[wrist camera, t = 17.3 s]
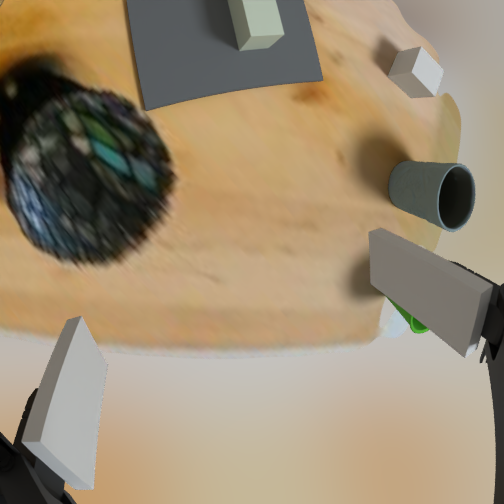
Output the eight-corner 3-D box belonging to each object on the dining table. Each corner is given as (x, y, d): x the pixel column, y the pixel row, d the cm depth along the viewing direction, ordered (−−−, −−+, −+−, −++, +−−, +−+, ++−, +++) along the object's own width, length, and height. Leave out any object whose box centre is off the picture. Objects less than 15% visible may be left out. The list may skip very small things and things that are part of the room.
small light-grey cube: (410, 98, 42) (435, 97, 36) (386, 76, 40) (411, 72, 34) (420, 73, 41) (444, 70, 35) (397, 52, 38) (421, 46, 33)
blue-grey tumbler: (375, 194, 46) (427, 211, 35) (401, 143, 44) (455, 149, 33) (410, 222, 50) (458, 243, 39) (432, 175, 48) (482, 188, 37)
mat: (146, 111, 34) (145, 110, 33) (125, -14, 26) (124, -16, 25) (320, 81, 38) (323, 80, 37) (290, -31, 30) (292, -34, 29)
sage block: (251, 36, 28) (231, -41, 23) (239, 51, 33) (222, -20, 28) (284, 34, 28) (263, -42, 24) (268, 48, 34) (251, -22, 29)
